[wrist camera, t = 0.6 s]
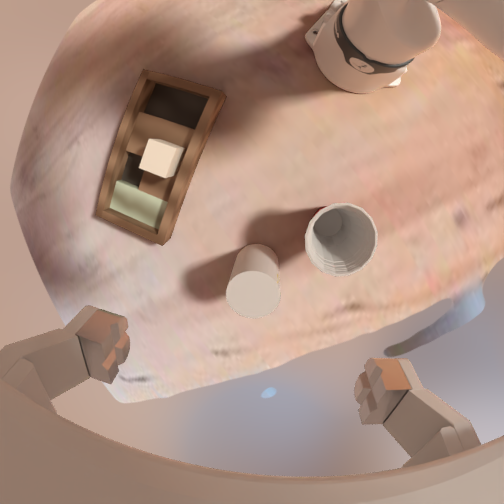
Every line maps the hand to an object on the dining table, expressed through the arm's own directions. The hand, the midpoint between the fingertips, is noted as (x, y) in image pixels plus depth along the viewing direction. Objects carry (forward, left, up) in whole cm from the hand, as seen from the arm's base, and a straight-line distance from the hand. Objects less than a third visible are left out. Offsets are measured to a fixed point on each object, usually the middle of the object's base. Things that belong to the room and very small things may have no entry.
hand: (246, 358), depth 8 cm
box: (+2, -20, -42) cm, 46 cm away
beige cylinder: (+14, +4, -42) cm, 44 cm away
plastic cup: (+1, +12, -42) cm, 44 cm away
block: (+1, -18, -40) cm, 43 cm away
